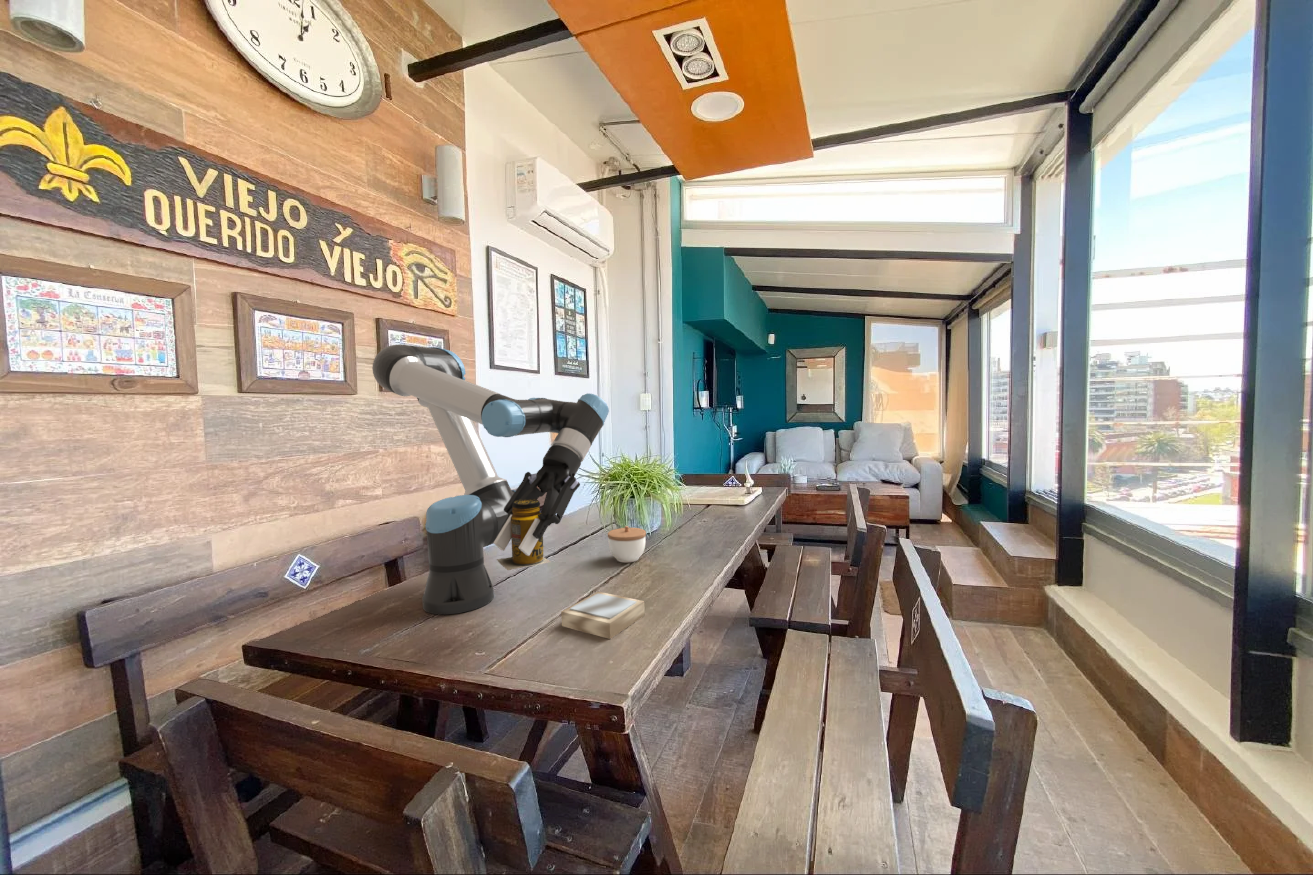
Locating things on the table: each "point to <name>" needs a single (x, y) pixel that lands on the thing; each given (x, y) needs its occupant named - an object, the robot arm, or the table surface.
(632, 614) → the plinth
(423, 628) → the table surface
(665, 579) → the table surface
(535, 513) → the condiment
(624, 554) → the lidded jar
